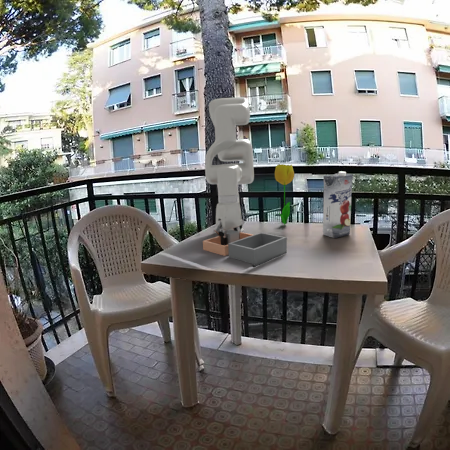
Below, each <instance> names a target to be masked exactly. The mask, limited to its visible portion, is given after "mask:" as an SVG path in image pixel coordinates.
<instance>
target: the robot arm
mask: <svg viewBox="0 0 450 450" xmlns="http://www.w3.org/2000/svg"><path fill="white" fill-rule="evenodd" d="M250 109H251V108H250V105H249V102H248V99H247V98H246V97H243V96H241V97H222V98H221V97H220V98H215V99H212V100H211V101H209V104H208V110H209V111H208V112H209V116H210V118H211V119H210V120H211V122H212V124H213V126H214V127H213V128H214V137H215V140H214V142H213V143H212V144H211V146H210V147H209V148H208V150H207V152H206V155H205V159H204V160H205V161H204V163H205V164H204V168H205V169H204V172H205V173H204V174H205V179H206V182H207V183H208V184H209V185H217V196H218V199H217V200H218V203H217V204H216V208H215V227H214V228H213V231H214V232H215V233H216V234H217V236H219V237H220V238H221V245H224V246H225V245H228V241H227V237H226V234H227V230H234V231H239V240H240V233H241V232H244V230H245V229H244V224H245V221H244V220H243V218H242V211H241V205H240V194H239V187H238V186H239V185H248V184H252V183H253V182H254V180H255V170H254V169H255V168H254V152H253V145H252V142H251V141H250V140H249V139H245V138H244V139H242V138H241V139H237V131H236V130H237V129H236V126H245V125H246V126H247V125H248V124H249V122H250V119H251V110H250ZM216 156H217V157H218V160H220V162H233V163H224V164H223V163H222V164H213V160H214V158H215V157H216ZM234 162H238V163H234ZM223 232H224V233H223Z"/></svg>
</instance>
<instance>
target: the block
mask: <svg viewBox="0 0 450 450" xmlns="http://www.w3.org/2000/svg"><path fill="white" fill-rule="evenodd" d="M223 233H224V232H223ZM226 237H227V241H228V243H231V242H234V241H237V240H239V231H234V230H227V234H226Z"/></svg>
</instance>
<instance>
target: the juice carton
mask: <svg viewBox="0 0 450 450" xmlns="http://www.w3.org/2000/svg"><path fill="white" fill-rule="evenodd" d="M353 179H354V174H351V173H347V172H346V171H342V170H341V171H338V172H337V173H334V174H330V175H329V174H327V175H326V174H325V175H323V204H322V205H323V208H322V210H323V211H322V213H323V214H322V216H323V217H322V220H323V221H322V234H323V236H327V237H330V238H333V239H338V238H339V239H340V238H343V237H346V236H350V234H351V216H352V215H351V214H352V194H353V193H352V192H353V190H352V189H353Z"/></svg>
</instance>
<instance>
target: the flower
mask: <svg viewBox="0 0 450 450" xmlns="http://www.w3.org/2000/svg"><path fill="white" fill-rule="evenodd" d="M294 178H295V171H294V168H293V164H290V165H289V164H287V165H286V164H284V163H283V164H282V163H281V164H277V165H276V166H275V170H274V179H275V181H276V182H278V183H279V184H281V185H282V186H283V193H284V194H283V202H284V203H283V208H282V211H281V213H280V212H279V213H278V214H279V215H280V219H281V223H282V224H283V225H286V224H288V219H289V217H290V213H291V206H290V205H291V202H290V201H288V202H287V203H286V186H287V185H288V184H290V183H291V182H292V181H293V180H294Z"/></svg>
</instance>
